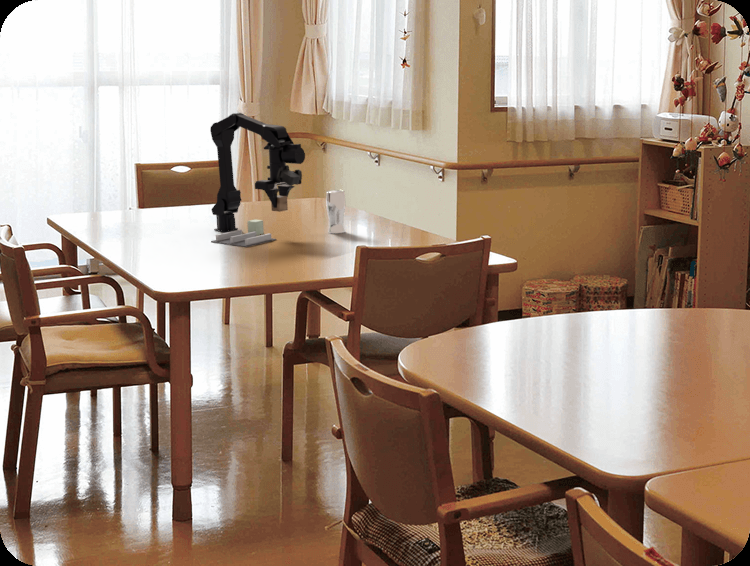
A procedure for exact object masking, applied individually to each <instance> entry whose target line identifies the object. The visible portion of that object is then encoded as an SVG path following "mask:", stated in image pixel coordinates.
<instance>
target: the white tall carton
mask: <svg viewBox="0 0 750 566" xmlns="http://www.w3.org/2000/svg"><path fill="white" fill-rule="evenodd" d="M325 195H326V196H325V206H326V213H327V218H328V229H327V230H328V231H327V233H328V234H332V235H339V234H345V233H346V229H345V225H344V220H345V212H346V194H345V190H342V189H333V190H332V189H331V190H326V194H325Z"/></svg>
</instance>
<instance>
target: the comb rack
mask: <svg viewBox="0 0 750 566" xmlns="http://www.w3.org/2000/svg"><path fill="white" fill-rule="evenodd" d="M274 241H277V238H274V237H273V238H272V233H265V234H261V235H256V232H250V233H248V232H246V233H243V229H237V230H232V231H228V232H223V233H219V234H215V239H214V240H210V243H214V244H221V245H229V246H235V247H236V246H237V247H240V248H249V247H253V246H258V245H261V244H265V243H266V244H267V243H270V242H274Z"/></svg>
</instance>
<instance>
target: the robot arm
mask: <svg viewBox="0 0 750 566" xmlns="http://www.w3.org/2000/svg"><path fill="white" fill-rule="evenodd" d="M240 128H242V129H244V130H247V131H250V132H251V133H254V134H257V135H259V136H260V137H261V138H262V140H264V141H265V142H267V144H266V145H265V146H264V147H263V150H267V151H268V159H269V160H268V161H269V165H266V169H268V170H269V177H267V180H266V179H261V180H256V181H255V182H254V190H260V191H264V192H265V194H266V196H267V197H268V199H269V201H270V203H272V205H273V207H274V208H277V196H278V195H281V196H287V198H289V194H290V191H291V190H292V189H293V188H295V187H296V186H295V185H297V186H298V185H302V179H303V178H302V177H303V174H302V173H303V172H302V170H301V169H295V170H294V171H293V170H290V166H289V164H291V165H292V164H294V165H295V164H296V165H302V164H303V163H304V162H305V159H306V152H305V150H304V149H303V148H302V144H301V143H295V144H294V141H293V140H292V138H291V136H290V135H289V133H288V131H287V128H286V127H285V126H283V125H278V124H269V123H265V122H263V121H259V120H258V119H255V118H252V117H251V116H248V115H245V114H244V113H242V112H237V113H236V112H235V113H234V112H233V113H231V114H230V115H228V116H227V117H225V118H223V119H221V120H219V121H218V122H213V123H212V124H211V126H210V136H211V140H212V142H213V144H214V145H215V146H216V149H217V150H216V151H217V161H218V162H217V163H218V172H219V184H220V185H219V189H218V192H217V194H216V203H214V205H213V206H212V208H211V212H212V215H213V216H215V217H216V228H214V229H213V230H214V231H217V232H223V233H227V232H232V231H236V230H239V228H238V227H236V217H235V213H236V214H237V213H238V212H239V207H240V205H241V201H242V197H241V196H242V195H241V193H242V192H241V190H240V189H237V188H236V186H235V181H234V169H233V158H232V144H233V142H234V140H235V133H236V131H237V130H239V129H240ZM287 164H288V165H287Z"/></svg>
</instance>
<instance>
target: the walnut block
mask: <svg viewBox="0 0 750 566" xmlns="http://www.w3.org/2000/svg"><path fill="white" fill-rule="evenodd" d="M270 203H271V202H270ZM270 206H271V211H272V212H279V213H281V212H285V211H289V209H288V197H287V196H281V195H279V194H277V208H274V207H273V205H272V203H271V205H270Z"/></svg>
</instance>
